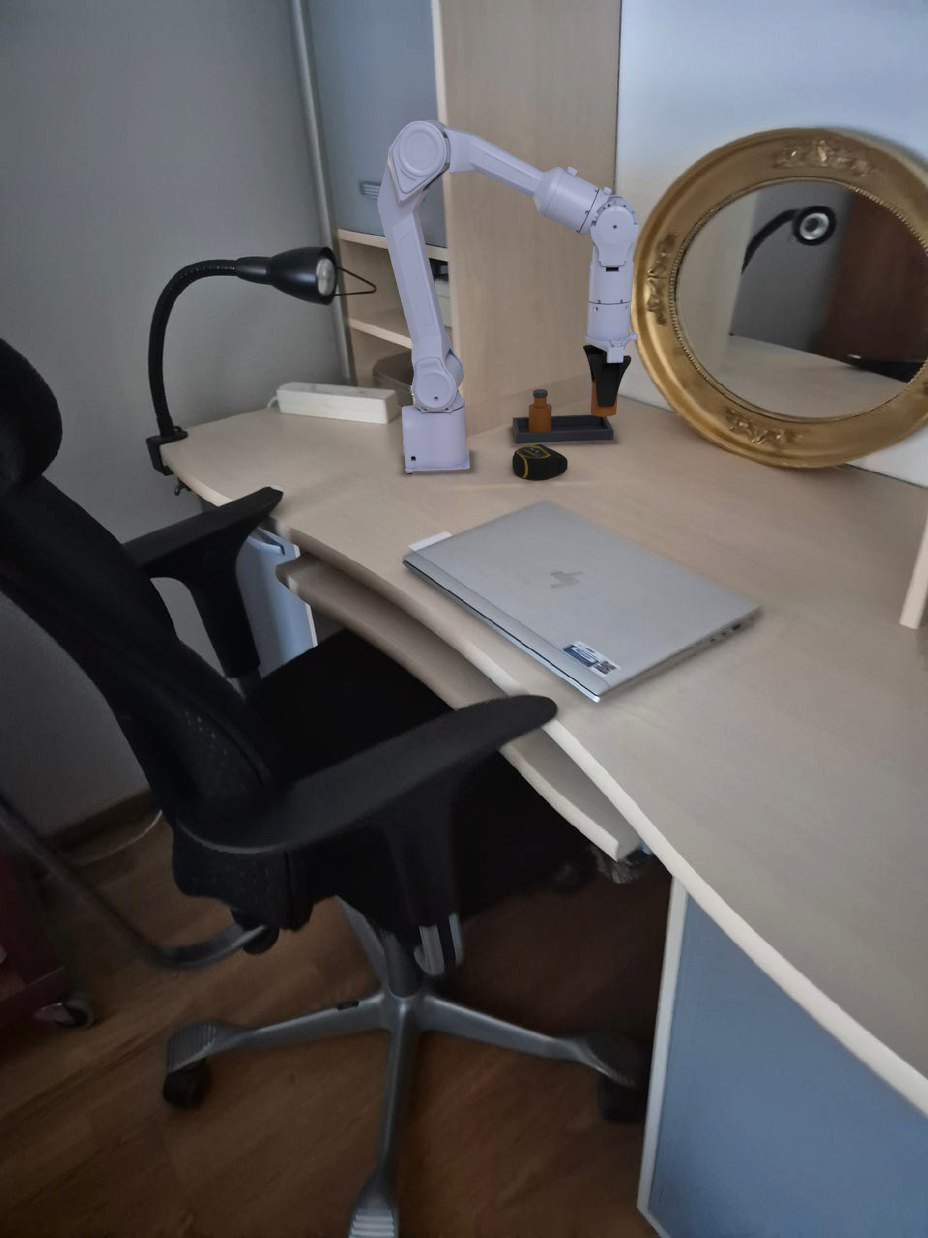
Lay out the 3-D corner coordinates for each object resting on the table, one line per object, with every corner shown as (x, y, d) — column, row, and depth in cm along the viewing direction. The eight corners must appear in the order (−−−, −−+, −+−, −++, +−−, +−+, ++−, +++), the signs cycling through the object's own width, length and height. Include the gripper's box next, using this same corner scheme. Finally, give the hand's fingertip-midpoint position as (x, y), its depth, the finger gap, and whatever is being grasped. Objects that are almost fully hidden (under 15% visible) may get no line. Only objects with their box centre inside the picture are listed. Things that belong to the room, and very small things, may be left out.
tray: (515, 446, 127) (515, 434, 126) (512, 429, 134) (512, 417, 133) (612, 442, 127) (613, 430, 126) (604, 425, 134) (605, 413, 133)
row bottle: (529, 437, 129) (529, 394, 125) (527, 430, 132) (527, 387, 128) (552, 436, 129) (553, 393, 125) (549, 429, 132) (550, 387, 128)
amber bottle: (592, 417, 114) (594, 367, 110) (589, 409, 117) (591, 360, 113) (618, 416, 114) (621, 366, 110) (614, 408, 117) (617, 359, 113)
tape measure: (569, 478, 115) (570, 453, 113) (528, 488, 112) (528, 463, 111) (543, 463, 120) (543, 439, 118) (503, 473, 118) (503, 448, 116)
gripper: (650, 310, 101) (641, 416, 108) (630, 288, 113) (623, 385, 120) (594, 312, 101) (589, 418, 108) (579, 290, 113) (576, 387, 121)
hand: (603, 401), depth 114 cm, fingers closed on amber bottle, 3 cm apart
